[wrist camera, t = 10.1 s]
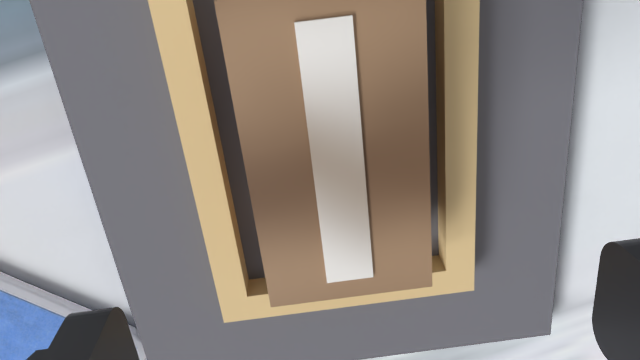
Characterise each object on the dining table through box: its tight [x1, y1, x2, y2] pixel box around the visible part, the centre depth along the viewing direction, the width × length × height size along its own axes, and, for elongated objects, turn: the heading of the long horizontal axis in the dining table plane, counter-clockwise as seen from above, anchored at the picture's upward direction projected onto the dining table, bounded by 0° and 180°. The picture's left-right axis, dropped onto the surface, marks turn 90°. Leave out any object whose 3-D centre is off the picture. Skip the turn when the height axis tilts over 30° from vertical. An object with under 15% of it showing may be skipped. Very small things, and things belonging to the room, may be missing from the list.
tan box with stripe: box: [214, 0, 432, 307], centre depth 16 cm, size 9×5×3 cm, turn 6°
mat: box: [29, 0, 583, 360], centre depth 17 cm, size 16×20×2 cm
